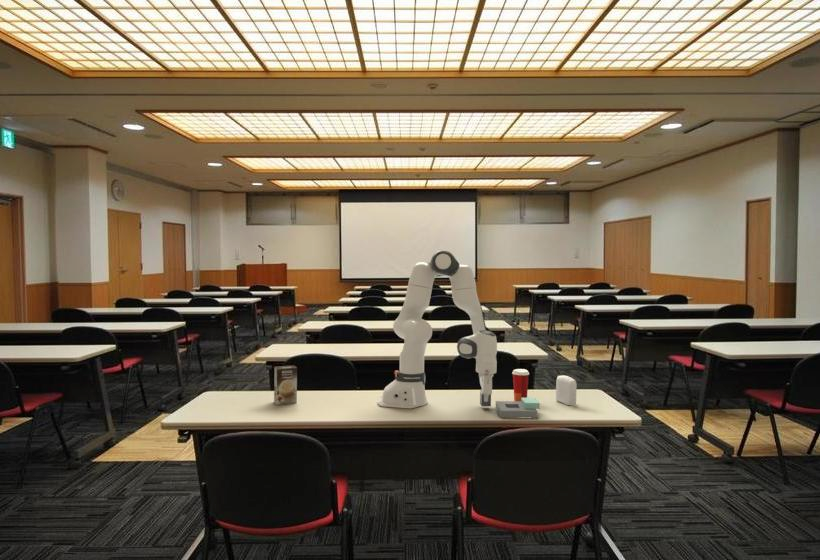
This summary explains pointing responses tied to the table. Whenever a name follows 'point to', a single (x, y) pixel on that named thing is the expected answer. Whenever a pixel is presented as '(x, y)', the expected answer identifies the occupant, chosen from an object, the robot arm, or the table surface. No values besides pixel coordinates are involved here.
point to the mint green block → (530, 403)
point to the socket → (514, 409)
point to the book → (566, 390)
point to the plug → (483, 399)
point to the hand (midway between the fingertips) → (485, 399)
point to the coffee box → (285, 385)
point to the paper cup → (520, 383)
